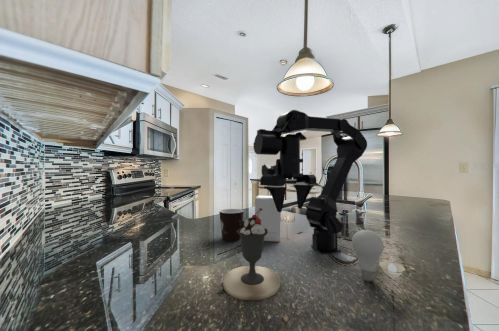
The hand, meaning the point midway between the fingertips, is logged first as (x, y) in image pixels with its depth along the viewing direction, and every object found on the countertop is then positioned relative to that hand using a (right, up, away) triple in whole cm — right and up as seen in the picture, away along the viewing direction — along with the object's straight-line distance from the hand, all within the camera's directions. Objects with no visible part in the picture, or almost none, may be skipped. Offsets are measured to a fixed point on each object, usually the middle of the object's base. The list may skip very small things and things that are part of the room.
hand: (290, 210), depth 61 cm
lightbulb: (+14, -13, -14) cm, 24 cm away
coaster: (-11, -13, -16) cm, 23 cm away
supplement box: (-5, -14, +17) cm, 22 cm away
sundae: (-11, -12, -16) cm, 23 cm away
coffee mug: (-18, -14, +17) cm, 28 cm away
